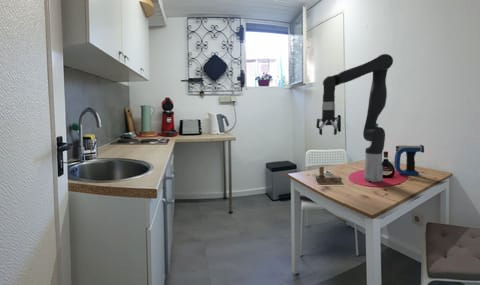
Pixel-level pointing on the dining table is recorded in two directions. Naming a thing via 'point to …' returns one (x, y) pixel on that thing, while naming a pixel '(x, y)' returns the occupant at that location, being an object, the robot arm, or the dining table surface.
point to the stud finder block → (328, 173)
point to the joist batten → (329, 179)
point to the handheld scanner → (410, 158)
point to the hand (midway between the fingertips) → (328, 134)
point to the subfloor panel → (314, 175)
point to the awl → (321, 171)
